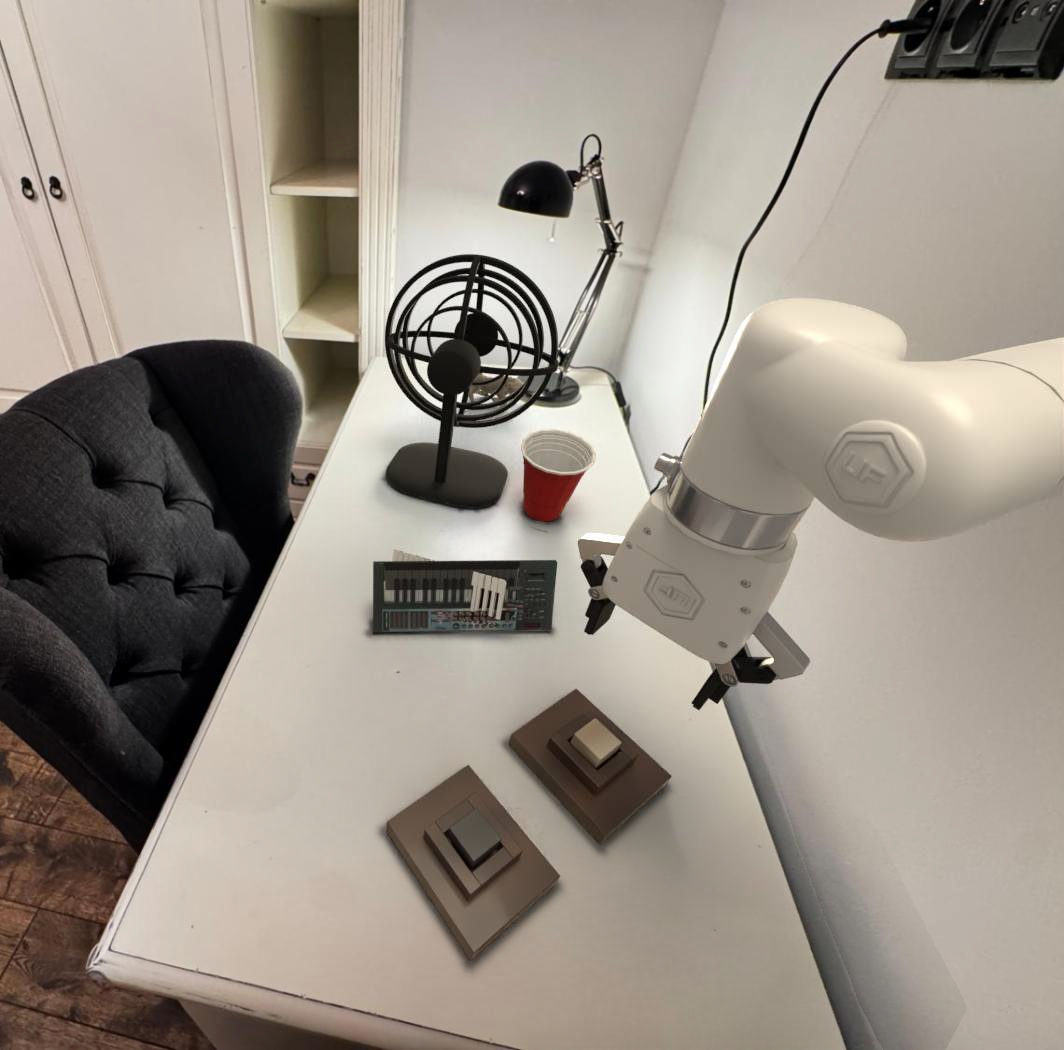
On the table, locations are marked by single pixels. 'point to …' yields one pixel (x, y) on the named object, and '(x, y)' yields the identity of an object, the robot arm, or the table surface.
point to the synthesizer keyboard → (462, 595)
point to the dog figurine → (494, 387)
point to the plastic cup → (552, 470)
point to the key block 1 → (454, 888)
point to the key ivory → (595, 742)
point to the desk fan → (464, 380)
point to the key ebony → (474, 837)
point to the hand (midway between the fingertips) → (646, 659)
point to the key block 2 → (588, 766)
